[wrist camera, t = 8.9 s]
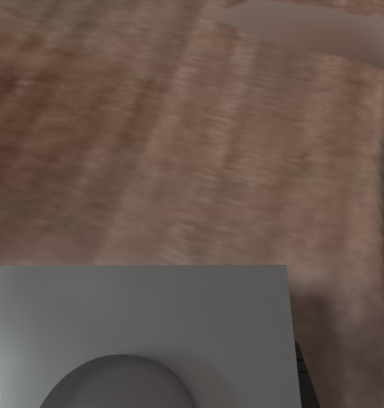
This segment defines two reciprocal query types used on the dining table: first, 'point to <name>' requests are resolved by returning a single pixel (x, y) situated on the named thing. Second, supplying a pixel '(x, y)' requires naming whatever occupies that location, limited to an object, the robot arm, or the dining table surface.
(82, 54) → the dining table surface
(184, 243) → the dining table surface
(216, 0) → the dining table surface
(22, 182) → the dining table surface
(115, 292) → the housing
